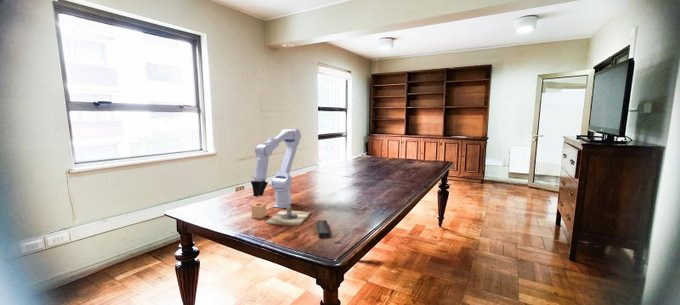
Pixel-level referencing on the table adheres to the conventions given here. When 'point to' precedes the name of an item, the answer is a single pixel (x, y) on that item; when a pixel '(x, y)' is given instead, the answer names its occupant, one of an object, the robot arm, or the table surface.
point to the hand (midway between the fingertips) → (258, 196)
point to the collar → (259, 210)
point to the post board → (288, 217)
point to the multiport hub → (323, 229)
